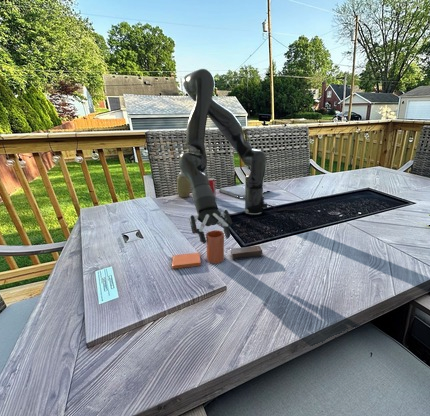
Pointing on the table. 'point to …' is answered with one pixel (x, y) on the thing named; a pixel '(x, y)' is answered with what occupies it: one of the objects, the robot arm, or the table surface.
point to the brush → (246, 252)
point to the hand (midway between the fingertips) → (216, 240)
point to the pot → (215, 246)
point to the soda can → (212, 185)
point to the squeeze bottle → (183, 185)
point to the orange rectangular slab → (186, 260)
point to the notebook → (234, 191)
